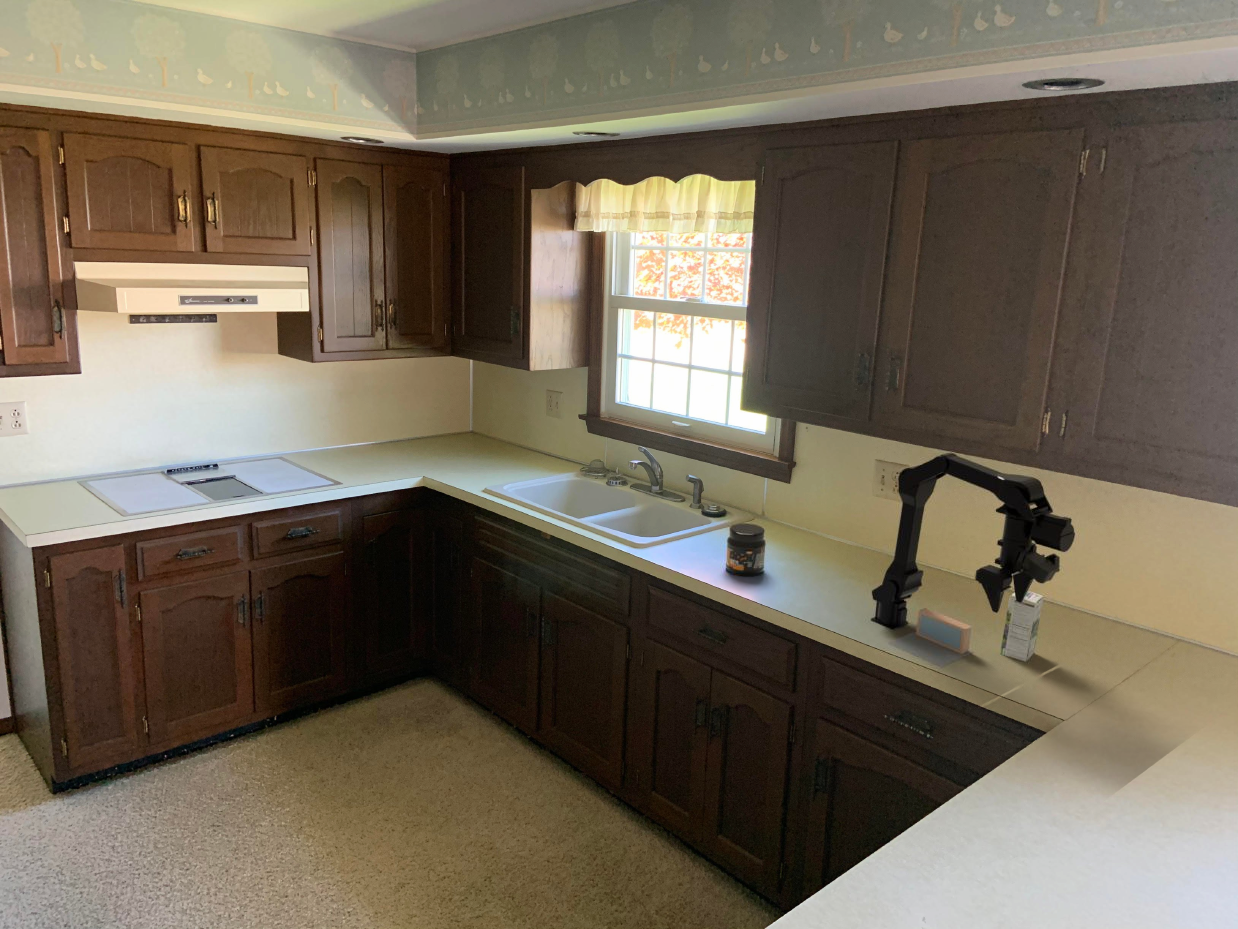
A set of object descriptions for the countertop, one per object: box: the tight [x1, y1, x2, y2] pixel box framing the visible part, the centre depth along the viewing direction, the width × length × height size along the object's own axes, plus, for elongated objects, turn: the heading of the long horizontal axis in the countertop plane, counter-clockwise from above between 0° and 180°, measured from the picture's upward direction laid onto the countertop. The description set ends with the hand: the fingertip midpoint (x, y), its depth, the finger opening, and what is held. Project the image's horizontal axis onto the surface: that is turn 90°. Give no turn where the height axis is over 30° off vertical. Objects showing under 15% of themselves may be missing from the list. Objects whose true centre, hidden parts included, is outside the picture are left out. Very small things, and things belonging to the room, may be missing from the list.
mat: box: [887, 630, 973, 668], centre depth 204 cm, size 14×12×1 cm
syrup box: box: [999, 590, 1044, 662], centre depth 200 cm, size 6×6×14 cm
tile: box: [915, 607, 972, 654], centre depth 206 cm, size 12×3×6 cm, turn 37°
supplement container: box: [725, 522, 767, 577], centre depth 246 cm, size 10×10×12 cm
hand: (1007, 606), depth 192 cm, fingers open, 9 cm apart
